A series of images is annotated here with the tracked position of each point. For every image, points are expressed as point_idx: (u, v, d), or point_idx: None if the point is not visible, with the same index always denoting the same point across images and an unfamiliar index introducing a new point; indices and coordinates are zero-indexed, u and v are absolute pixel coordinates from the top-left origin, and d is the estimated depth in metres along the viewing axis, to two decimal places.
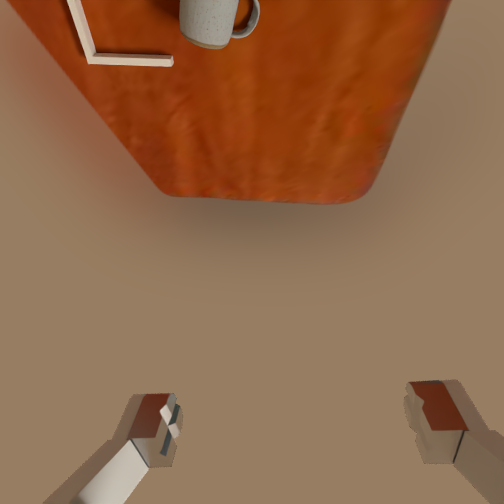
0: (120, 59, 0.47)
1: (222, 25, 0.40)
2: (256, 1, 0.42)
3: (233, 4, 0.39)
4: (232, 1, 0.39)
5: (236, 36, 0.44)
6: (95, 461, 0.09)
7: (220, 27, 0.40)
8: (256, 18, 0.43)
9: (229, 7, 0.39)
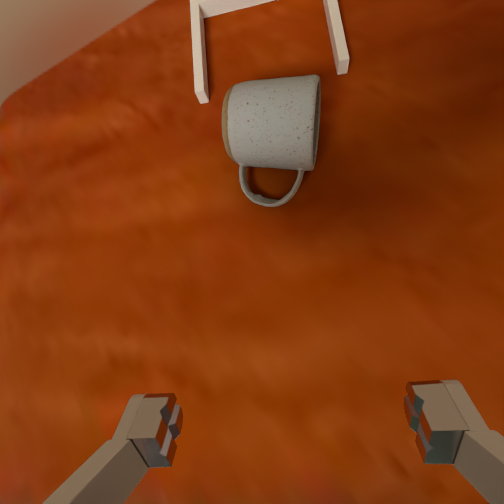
0: (198, 32, 0.34)
1: (254, 129, 0.25)
2: (286, 197, 0.28)
3: (282, 146, 0.25)
4: (286, 142, 0.25)
5: (241, 174, 0.29)
6: (95, 461, 0.09)
7: (252, 126, 0.25)
8: (266, 203, 0.29)
9: (278, 137, 0.25)
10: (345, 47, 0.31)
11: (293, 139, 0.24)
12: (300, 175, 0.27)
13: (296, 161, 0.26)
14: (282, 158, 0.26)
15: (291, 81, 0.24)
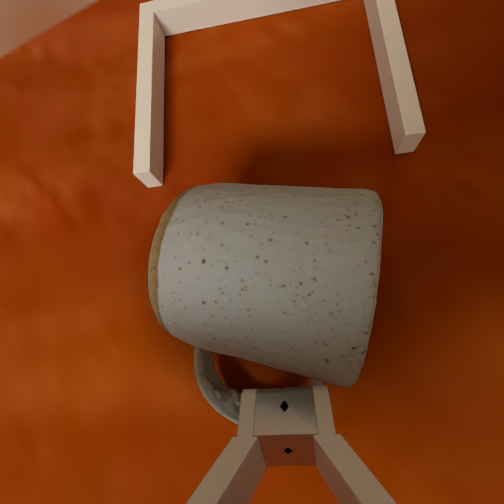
0: (149, 63, 0.20)
1: (219, 321, 0.10)
2: None
3: (285, 361, 0.10)
4: (295, 359, 0.10)
5: (197, 360, 0.14)
6: (228, 459, 0.08)
7: (212, 314, 0.10)
8: None
9: (276, 347, 0.10)
10: (417, 109, 0.16)
11: (311, 359, 0.10)
12: None
13: None
14: (283, 370, 0.11)
15: (314, 214, 0.10)
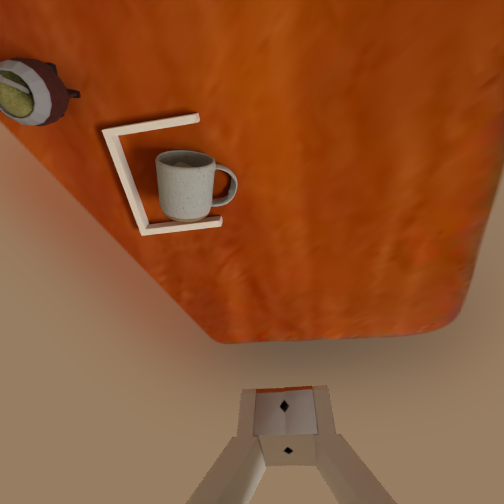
0: (171, 227, 0.48)
1: (198, 202, 0.40)
2: (232, 175, 0.43)
3: (207, 184, 0.40)
4: (205, 182, 0.39)
5: (217, 204, 0.45)
6: (228, 459, 0.08)
7: (196, 204, 0.40)
8: (235, 187, 0.44)
9: (203, 187, 0.40)
10: (184, 117, 0.39)
11: (204, 179, 0.39)
12: (219, 167, 0.42)
13: (213, 173, 0.40)
14: (212, 182, 0.41)
15: (167, 181, 0.38)
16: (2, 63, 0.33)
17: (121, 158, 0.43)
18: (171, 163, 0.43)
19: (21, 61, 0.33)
